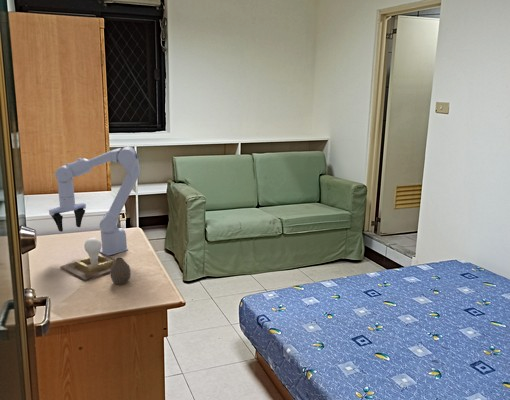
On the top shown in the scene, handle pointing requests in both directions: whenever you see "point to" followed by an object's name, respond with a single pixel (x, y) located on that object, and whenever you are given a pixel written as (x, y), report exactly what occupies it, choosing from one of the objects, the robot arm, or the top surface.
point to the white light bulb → (93, 249)
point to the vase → (120, 272)
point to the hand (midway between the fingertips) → (69, 228)
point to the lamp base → (83, 274)
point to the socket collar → (82, 265)
